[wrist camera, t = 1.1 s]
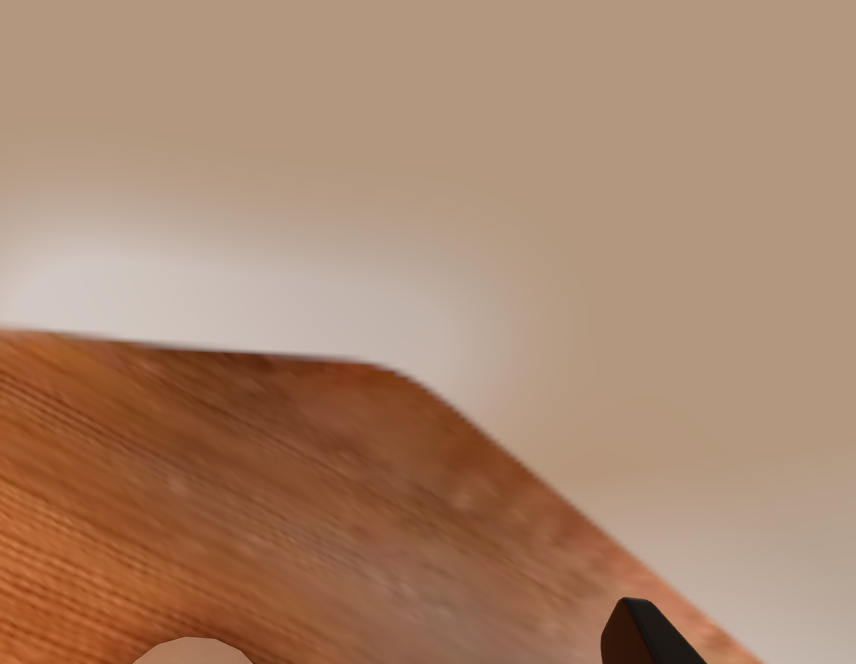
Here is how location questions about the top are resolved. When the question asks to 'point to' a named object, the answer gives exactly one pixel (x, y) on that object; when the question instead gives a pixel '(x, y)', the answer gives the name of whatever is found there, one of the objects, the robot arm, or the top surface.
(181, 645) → the white tapered cylinder
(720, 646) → the top surface
